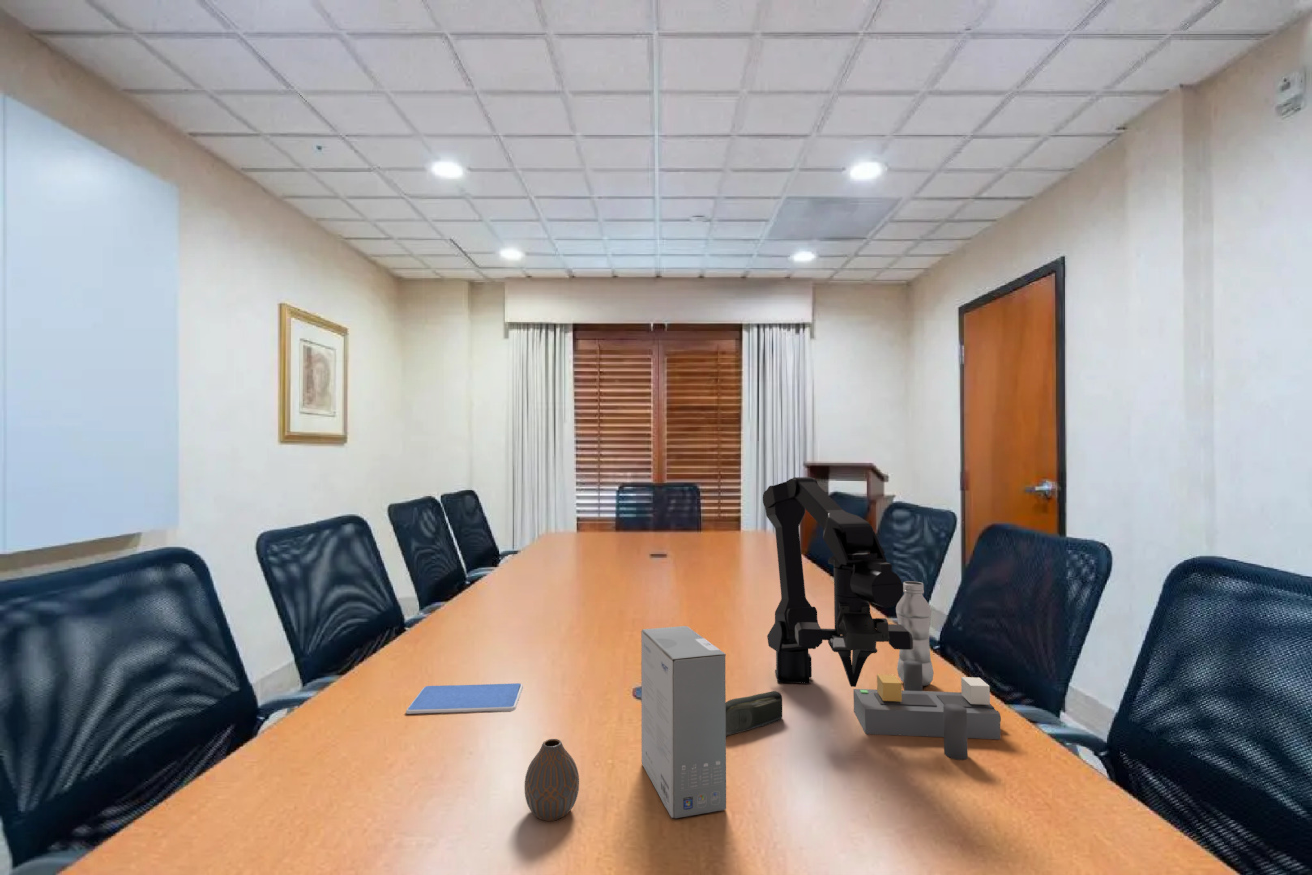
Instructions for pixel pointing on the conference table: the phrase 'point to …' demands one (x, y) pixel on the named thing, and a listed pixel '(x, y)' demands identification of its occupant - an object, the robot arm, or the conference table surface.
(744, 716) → the dark green rounded bar
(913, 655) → the plastic bottle
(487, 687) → the tablet computer
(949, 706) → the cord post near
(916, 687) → the cylinder
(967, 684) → the toggle ivory
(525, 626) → the conference table surface
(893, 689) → the toggle amber
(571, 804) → the vase
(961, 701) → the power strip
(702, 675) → the hard drive box
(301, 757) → the conference table surface
